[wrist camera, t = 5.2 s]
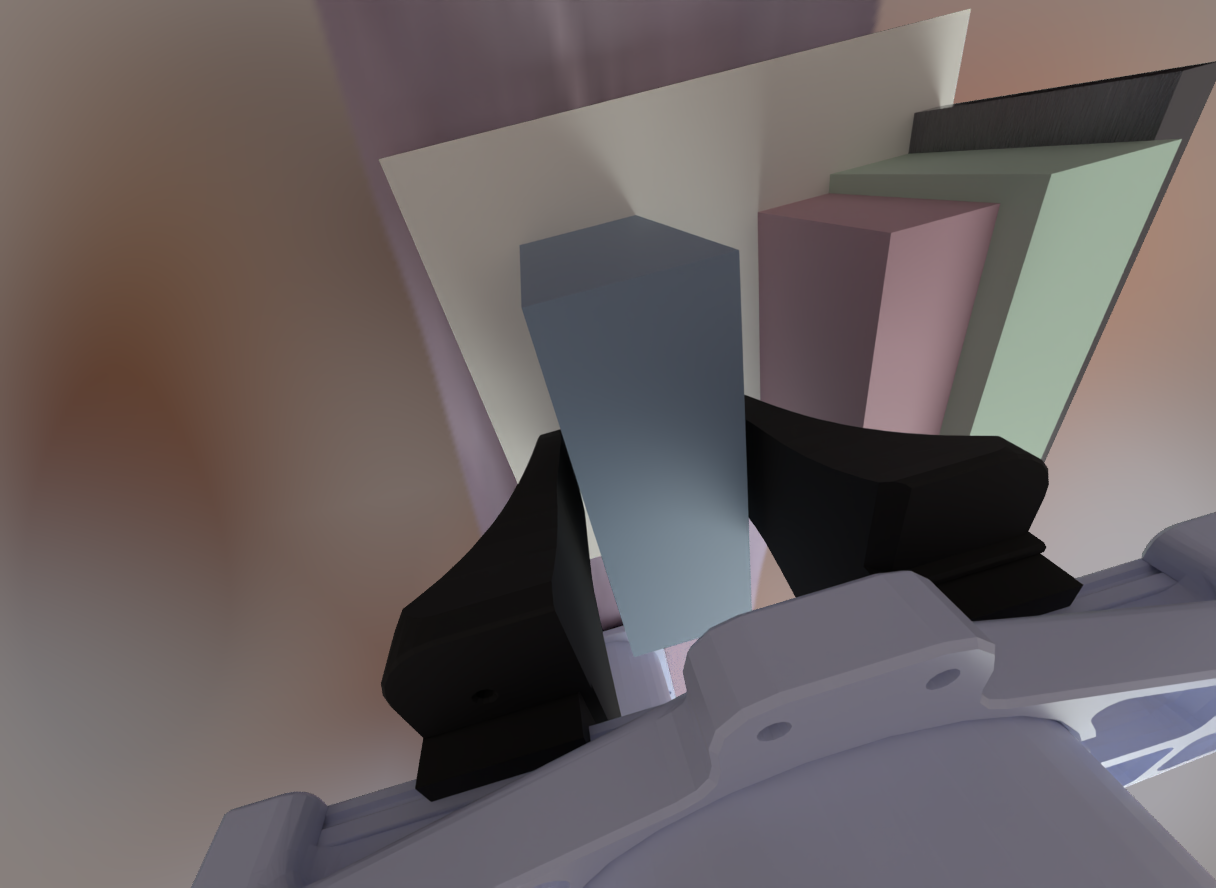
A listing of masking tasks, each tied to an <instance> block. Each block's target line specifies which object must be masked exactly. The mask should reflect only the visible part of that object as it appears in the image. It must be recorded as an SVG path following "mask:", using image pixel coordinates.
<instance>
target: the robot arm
mask: <svg viewBox="0 0 1216 888" xmlns="http://www.w3.org/2000/svg"><path fill="white" fill-rule="evenodd" d="M744 402H745V431H746V460H747V489H748V517H749V519H750V520H751V521H752V523H753V524H754V525H755V527H756V528H757V530H758V531H759V533H760V534H761V536H762V538H763V539H764V541H765V542H766V544H767V546H768V548H769V549H770V551H771V553H772V555H773V556H774V558H775V560H776V562H777V564H778V565H779V567H780V569H781V571H782V573H783V575H784V577H785V578H786V580H787V582H788V584H789V586H790V588H791V589H792V591H793V593H794V595H795V597H796V598H793V599H790V600H786V601H783V602H780V603H776V604H773V605H770V606H766V607H763V608H760V609H756V610H753V611H750V612H746V613H743V614H740V615H737V616H735V617H733V618H730V619H728V620H726V621H724V622H722V623H720V624H718V625H716V626H713V627H711V628H709V629H708V630H707V631H706V632H705V633H704V634H703V635H702V636H701V637H700V638H699V639H698V640H697V641H696V642H695V643H694V644H693V645H692V646H691V647H690V649H689V651H688V652H687V657H686V661H685V665H684V669H683V675H684V680H685V684H686V689H687V692H686V693H684V694H682V695H680V696H678V697H676V696H675V692H674V688H673V684H672V680H671V676H670V672H669V668H668V664H667V660H666V656H665V652H664V648H663V649H660V650H657V651H653V652H650V653H647V654H643V655H640V656H637V657H634V656H633V653H632V650H631V647H630V644H629V641H628V638H627V634H626V631H625V628H624V626H620V627H617V628H614V629H610V630H607V631H603V632H602V627H601V622H600V618H599V613H598V608H597V603H596V598H595V594H594V588H593V582H592V575H591V565H590V555H589V546H588V536H587V526H586V517H585V510H584V506H583V501H582V497H581V493H580V488H579V485H578V482H577V479H576V476H575V473H574V470H573V467H572V463H571V460H570V457H569V454H568V451H567V448H566V445H565V442H564V439H563V435H562V432H561V429H560V430H556V431H552V432H549V433H545V434H542V435H540V436H539V438H538V439H537V442H536V445H535V447H534V450H533V453H532V455H531V457H530V460H529V462H528V464H527V466H526V469H525V471H524V473H523V475H522V477H521V479H520V481H519V483H518V485H517V486H516V488H515V490H514V492H513V494H512V495H511V497H510V499H509V501H508V502H507V504H506V505H505V507H504V509H503V510H502V512H501V513H500V514H499V516H498V517H497V519H496V520H495V521H494V523H493V524H492V525H491V526H490V528H489V529H488V530H487V531H486V532H485V533H484V535H483V536H482V537H481V538H480V539H479V540H478V542H477V543H476V544H475V545H474V546H473V548H472V549H471V550H470V551H469V552H468V553H467V554H466V555H465V556H464V557H463V558H462V559H461V560H460V561H459V562H458V563H457V564H456V565H455V566H454V567H452V569H450V570H449V571H448V572H447V573H446V574H445V575H444V576H443V577H442V578H441V579H440V580H438V581H437V582H436V583H435V584H433V585H432V586H431V587H430V588H429V589H427V590H426V591H425V592H424V593H422V594H421V595H420V596H419V597H418V598H416V599H415V600H414V601H413V602H412V603H410V604H409V605H407V606H406V607H405V608H404V609H403V610H402V613H401V615H400V618H399V621H398V624H397V627H396V629H395V633H394V636H393V640H392V644H391V647H390V651H389V655H388V659H387V663H386V667H385V670H384V674H383V678H382V682H381V687H382V693H383V696H384V698H385V699H386V701H387V702H388V703H389V705H390V706H391V707H392V708H393V709H394V710H395V711H396V712H397V713H398V714H399V715H400V716H401V717H402V718H403V719H404V720H405V721H406V722H407V723H409V725H411V726H412V727H413V728H414V729H415V730H416V731H417V732H418V733H419V734H420V735H421V736H422V737H423V744H422V750H421V756H420V762H419V768H418V774H417V779H415V780H412V781H409V782H405V783H402V784H398V785H395V786H392V787H389V788H385V789H382V790H379V791H375V792H372V793H369V794H366V795H362V796H359V797H356V798H352V799H349V800H346V801H343V802H339V803H336V804H333V805H329V806H327V805H326V804H325V802H323V801H322V800H321V799H320V798H319V797H317V796H316V795H314V794H311V793H308V792H290V793H285V794H281V795H278V796H275V797H271V798H268V799H265V800H261V801H258V802H255V803H251V804H248V805H245V806H241V807H238V808H235V809H232V810H230V811H229V812H227V813H226V814H224V816H223V819H222V821H221V823H220V825H219V827H218V830H217V832H216V834H215V836H214V839H213V841H212V843H211V845H210V847H209V849H208V851H207V854H206V856H205V858H204V860H203V862H202V864H201V867H200V869H199V871H198V873H197V875H196V878H195V880H194V882H193V884H192V886H191V888H1216V880H1215V879H1214V878H1213V877H1212V876H1211V875H1210V874H1209V873H1208V872H1207V871H1206V870H1205V869H1204V868H1203V867H1202V866H1201V865H1200V864H1199V863H1198V861H1197V860H1196V859H1195V858H1194V857H1193V856H1191V854H1189V852H1187V850H1186V849H1185V848H1184V847H1183V846H1182V845H1181V844H1180V843H1179V842H1178V841H1177V840H1176V839H1175V838H1174V837H1173V836H1172V835H1171V834H1170V833H1169V832H1168V831H1167V830H1166V829H1165V828H1164V827H1163V826H1162V825H1161V824H1160V823H1159V822H1158V821H1157V820H1156V819H1155V818H1154V817H1153V816H1152V815H1151V814H1150V813H1149V812H1148V811H1147V810H1146V809H1145V808H1144V807H1143V806H1142V805H1141V804H1140V803H1139V802H1138V801H1137V800H1136V799H1135V798H1134V797H1133V796H1132V795H1131V794H1130V793H1129V792H1128V791H1127V790H1126V789H1125V787H1128V786H1130V785H1133V784H1135V783H1138V782H1140V781H1143V780H1145V779H1148V778H1150V777H1153V776H1156V775H1158V774H1161V773H1163V772H1166V771H1168V770H1171V769H1173V768H1176V767H1178V766H1181V765H1183V764H1186V763H1188V762H1191V761H1193V760H1196V759H1199V758H1201V757H1204V756H1206V755H1209V754H1212V753H1214V752H1216V512H1214V513H1210V514H1207V515H1204V516H1201V517H1197V518H1194V519H1191V520H1187V521H1184V522H1181V523H1177V524H1175V525H1172V526H1170V527H1167V528H1165V529H1164V530H1162V531H1161V532H1160V533H1158V534H1157V535H1156V536H1155V537H1154V538H1153V539H1152V540H1151V541H1150V542H1149V543H1148V545H1147V546H1146V548H1145V550H1144V551H1143V553H1142V558H1141V559H1138V560H1134V561H1131V562H1128V563H1124V564H1121V565H1118V566H1115V567H1111V568H1108V569H1105V570H1101V571H1098V572H1095V573H1092V574H1088V575H1085V576H1082V577H1078V578H1073V577H1072V576H1071V575H1069V574H1068V573H1067V572H1065V571H1063V570H1062V569H1061V568H1060V567H1058V566H1057V565H1055V564H1054V563H1053V562H1051V561H1050V560H1048V559H1047V558H1046V557H1044V556H1043V555H1041V554H1040V553H1042V552H1044V551H1045V549H1046V546H1045V544H1044V542H1042V541H1041V540H1040V539H1038V538H1037V537H1035V536H1034V535H1032V534H1031V533H1030V532H1028V531H1029V529H1030V526H1031V524H1032V522H1033V520H1034V518H1035V516H1036V514H1037V512H1038V510H1039V508H1040V505H1041V503H1042V501H1043V499H1044V497H1045V494H1046V491H1047V488H1048V485H1049V481H1048V468H1047V467H1046V465H1045V463H1044V462H1043V460H1042V459H1040V458H1038V457H1036V456H1034V455H1033V454H1031V453H1029V452H1027V451H1025V450H1024V449H1022V448H1020V447H1018V446H1016V445H1015V444H1013V443H1011V442H1009V441H1007V440H1006V439H1004V438H1002V437H1000V436H965V435H929V434H914V433H902V432H892V431H883V430H876V429H869V428H862V427H855V426H850V425H844V424H839V423H835V422H830V421H826V420H821V419H817V418H813V417H809V416H806V415H802V414H799V413H796V412H792V411H789V410H786V409H783V408H780V407H777V406H774V405H771V404H769V403H766V402H763V401H760V400H758V399H755V398H752V397H750V396H747V395H745V394H744Z"/></svg>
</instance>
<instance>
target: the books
mask: <svg viewBox="0 0 1216 888" xmlns="http://www.w3.org/2000/svg"><path fill="white" fill-rule="evenodd" d="M1181 140H1182V139H1171V140H1152V141H1134V142H1116V143H1097V144H1079V145H1060V146H1042V147H1023V148H1005V149H986V150H968V151H949V152H931V153H912V154H905V155H902V156H898V157H894V158H890V159H886V160H883V161H879V162H875V163H871V164H868V165H864V166H860V167H856V168H853V169H849V170H845V171H841V172H837V173H834V174H830V184H829V193H828V194H824V195H820V196H817V197H813V198H809V199H805V200H802V201H798V202H794V203H790V204H787V205H783V206H779V207H775V208H772V209H768V210H764V211H760V212H758V273H759V340H760V401H763V402H766V403H769V404H771V405H774V406H777V407H780V408H783V409H786V410H789V411H792V412H796V413H799V414H802V415H806V416H809V417H813V418H817V419H821V420H826V421H830V422H835V423H839V424H844V425H850V426H855V427H862V428H869V429H876V430H883V431H892V432H902V433H914V434H929V435H965V436H1000V437H1002V438H1004V439H1006V440H1007V441H1009V442H1011V443H1013V444H1015V445H1016V446H1018V447H1020V448H1022V449H1024V450H1025V451H1027V452H1029V453H1031V454H1033V455H1034V456H1036V457H1038V458H1040V459H1041V458H1042V455H1043V453H1044V451H1045V448H1046V446H1047V444H1048V442H1049V439H1050V437H1051V435H1052V433H1053V430H1054V428H1055V426H1056V424H1057V421H1058V419H1059V417H1060V414H1061V412H1062V410H1063V408H1064V405H1065V403H1066V401H1067V399H1068V396H1069V394H1070V392H1071V390H1072V387H1073V385H1074V383H1075V381H1076V378H1077V376H1078V374H1079V371H1080V369H1081V367H1082V365H1083V362H1084V360H1085V358H1086V356H1087V353H1088V351H1089V349H1090V347H1091V344H1092V342H1093V340H1094V337H1095V335H1096V333H1097V331H1098V328H1099V326H1100V324H1101V322H1102V319H1103V317H1104V315H1105V313H1106V310H1107V308H1108V306H1109V303H1110V301H1111V299H1112V297H1113V294H1114V292H1115V290H1116V288H1117V285H1118V283H1119V281H1120V279H1121V276H1122V274H1123V272H1124V269H1125V267H1126V265H1127V263H1128V260H1129V258H1130V256H1131V254H1132V251H1133V249H1134V247H1135V245H1136V242H1137V240H1138V238H1139V235H1140V233H1141V231H1142V229H1143V226H1144V224H1145V222H1146V220H1147V217H1148V215H1149V213H1150V211H1151V208H1152V206H1153V204H1154V201H1155V199H1156V197H1157V195H1158V192H1159V190H1160V188H1161V186H1162V183H1163V181H1164V179H1165V177H1166V174H1167V172H1168V170H1169V167H1170V165H1171V163H1172V161H1173V158H1174V156H1175V154H1176V152H1177V149H1178V147H1179V145H1180V143H1181Z"/></svg>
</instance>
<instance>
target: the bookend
mask: <svg viewBox="0 0 1216 888" xmlns="http://www.w3.org/2000/svg"><path fill="white" fill-rule="evenodd" d="M1215 81H1216V61H1215V62H1209V63H1202V64H1197V65H1190V66H1185V67H1178V68H1172V69H1166V70H1159V71H1154V72H1147V73H1141V74H1135V75H1129V76H1123V77H1116V78H1111V79H1104V80H1098V81H1092V82H1086V83H1079V84H1073V85H1067V86H1061V87H1055V88H1049V89H1043V90H1037V91H1031V92H1024V93H1018V94H1012V95H1006V96H1000V97H994V98H987V99H981V100H975V101H969V102H963V103H956V104H950V105H944V106H939V107H935V108H931V109H927V110H924V111H920V112H916V113H914V119H913V126H912V132H911V139H910V146H909V152H908V154H912V153H931V152H949V151H968V150H986V149H1005V148H1023V147H1042V146H1060V145H1079V144H1097V143H1116V142H1134V141H1152V140H1171V139H1182V140H1181V143H1180V145H1179V147H1178V149H1177V152H1176V154H1175V156H1174V158H1173V161H1172V163H1171V165H1170V167H1169V170H1168V172H1167V174H1166V177H1165V179H1164V181H1163V183H1162V186H1161V188H1160V190H1159V192H1158V195H1157V197H1156V199H1155V201H1154V204H1153V206H1152V208H1151V211H1150V213H1149V215H1148V217H1147V220H1146V222H1145V224H1144V226H1143V229H1142V231H1141V233H1140V235H1139V238H1138V240H1137V242H1136V245H1135V247H1134V249H1133V251H1132V254H1131V256H1130V258H1129V260H1128V263H1127V265H1126V267H1125V269H1124V272H1123V274H1122V276H1121V279H1120V281H1119V283H1118V285H1117V288H1116V290H1115V292H1114V294H1113V297H1112V299H1111V301H1110V303H1109V306H1108V308H1107V310H1106V313H1105V315H1104V317H1103V319H1102V322H1101V324H1100V326H1099V328H1098V331H1097V333H1096V335H1095V337H1094V340H1093V342H1092V344H1091V347H1090V349H1089V351H1088V353H1087V356H1086V358H1085V360H1084V362H1083V365H1082V367H1081V369H1080V371H1079V374H1078V376H1077V378H1076V381H1075V383H1074V385H1073V387H1072V390H1071V392H1070V394H1069V396H1068V399H1067V401H1066V403H1065V405H1064V408H1063V410H1062V412H1061V414H1060V417H1059V419H1058V421H1057V424H1056V426H1055V428H1054V430H1053V433H1052V435H1051V437H1050V439H1049V442H1048V444H1047V446H1046V448H1045V451H1044V453H1043V455H1042V458H1041V459H1042V460H1043V462H1045V460H1046V457H1047V455H1048V453H1049V451H1050V448H1051V446H1052V444H1053V442H1054V440H1055V437H1056V435H1057V433H1058V431H1059V428H1060V426H1061V424H1062V422H1063V420H1064V417H1065V415H1066V413H1067V410H1068V409H1069V406H1070V404H1071V402H1072V400H1073V397H1074V395H1075V393H1076V391H1077V388H1078V386H1079V384H1080V382H1081V380H1082V377H1083V375H1084V373H1085V371H1086V368H1087V366H1088V364H1089V362H1090V360H1091V357H1092V355H1093V353H1094V351H1095V348H1096V346H1097V344H1098V342H1099V339H1100V337H1101V335H1102V333H1103V331H1104V328H1105V326H1106V324H1107V322H1108V319H1109V317H1110V315H1111V312H1112V311H1113V308H1114V306H1115V304H1116V302H1117V299H1118V297H1119V295H1120V293H1121V290H1122V288H1123V286H1124V284H1125V282H1126V279H1127V277H1128V275H1129V273H1130V270H1131V268H1132V266H1133V264H1134V262H1135V259H1136V257H1137V255H1138V253H1139V251H1140V248H1141V246H1142V244H1143V242H1144V239H1145V237H1146V235H1147V233H1148V230H1149V228H1150V226H1151V224H1152V221H1153V219H1154V217H1155V215H1156V212H1157V210H1158V208H1159V206H1160V204H1161V202H1162V199H1163V197H1164V195H1165V193H1166V190H1167V188H1168V186H1169V184H1170V182H1171V179H1172V177H1173V175H1174V173H1175V170H1176V168H1177V166H1178V164H1179V161H1180V159H1181V157H1182V155H1183V152H1184V150H1185V148H1186V146H1187V144H1188V141H1189V139H1190V137H1191V135H1192V133H1193V130H1194V128H1195V126H1196V123H1197V121H1198V119H1199V117H1200V115H1201V112H1202V110H1203V108H1204V106H1205V103H1206V101H1207V99H1208V97H1209V95H1210V93H1211V90H1212V88H1213V86H1214V84H1215Z"/></svg>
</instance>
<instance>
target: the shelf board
mask: <svg viewBox="0 0 1216 888" xmlns="http://www.w3.org/2000/svg"><path fill="white" fill-rule="evenodd" d="M970 11H971V9H967V10H964V11H959V12H955V13H951V14H948V15H943V16H940V17H936V18H932V19H928V20H924V21H920V22H916V23H912V24H908V25H904V26H901V27H896V28H892V29H888V30H884V31H881V32H877V33H873V34H869V35H865V36H861V37H857V38H853V39H849V40H845V41H841V42H837V43H833V44H829V45H825V46H822V47H818V48H814V49H810V50H806V51H802V52H798V53H794V54H790V55H786V56H782V57H778V58H774V59H770V60H767V61H763V62H759V63H755V64H751V65H747V66H743V67H739V68H735V69H731V70H727V71H723V72H719V73H715V74H711V75H708V76H704V77H700V78H696V79H692V80H688V81H684V82H680V83H676V84H672V85H668V86H664V87H660V88H656V89H652V90H649V91H645V92H641V93H637V94H633V95H629V96H625V97H621V98H617V99H613V100H609V101H605V102H601V103H597V104H594V105H590V106H586V107H582V108H578V109H574V110H570V111H566V112H562V113H558V114H554V115H550V116H546V117H542V118H538V119H535V120H531V121H527V122H523V123H519V124H515V125H511V126H507V127H503V128H499V129H495V130H491V131H487V132H483V133H479V134H476V135H472V136H468V137H464V138H460V139H456V140H452V141H448V142H444V143H440V144H436V145H432V146H428V147H424V148H421V149H417V150H413V151H409V152H405V153H401V154H397V155H393V156H389V157H385V158H381V159H379V162H380V164H381V166H382V169H383V171H384V173H385V176H386V178H387V180H388V183H389V185H390V187H391V190H392V192H393V194H394V197H395V199H396V201H397V204H398V206H399V208H400V211H401V213H402V215H403V218H404V220H405V222H406V225H407V227H408V229H409V232H410V234H411V236H412V239H413V241H414V243H415V246H416V248H417V250H418V253H419V255H420V257H421V260H422V262H423V264H424V267H425V269H426V271H427V274H428V276H429V278H430V281H431V283H432V285H433V288H434V290H435V292H436V295H437V297H438V299H439V302H440V304H441V306H442V309H443V311H444V313H445V316H446V318H447V320H448V322H449V325H450V327H451V329H452V332H453V334H454V336H455V339H456V341H457V343H458V346H459V348H460V350H461V353H462V355H463V357H464V360H465V362H466V364H467V367H468V369H469V371H470V374H471V376H472V378H473V381H474V383H475V385H476V388H477V390H478V392H479V395H480V397H481V399H482V402H483V404H484V406H485V409H486V411H487V413H488V416H489V418H490V420H491V423H492V425H493V427H494V430H495V432H496V434H497V437H498V439H499V441H500V444H501V446H502V448H503V451H504V453H505V455H506V458H507V460H508V462H509V465H510V467H511V469H512V472H513V474H514V476H515V479H516V481H517V483H519V481H520V479H521V477H522V475H523V473H524V471H525V469H526V466H527V464H528V462H529V460H530V457H531V455H532V453H533V450H534V447H535V445H536V442H537V439H538V438H539V436H540V435H542V434H545V433H549V432H552V431H556V430H560V426H559V423H558V420H557V417H556V414H555V411H554V407H553V404H552V401H551V398H550V395H549V392H548V389H547V386H546V383H545V379H544V376H543V373H542V370H541V367H540V364H539V361H538V358H537V355H536V351H535V348H534V345H533V342H532V339H531V336H530V333H529V330H528V327H527V323H526V320H525V317H524V314H523V311H522V308H521V278H520V246H519V245H522V244H526V243H530V242H534V241H538V240H542V239H545V238H549V237H553V236H557V235H561V234H565V233H568V232H572V231H576V230H580V229H584V228H588V227H592V226H595V225H599V224H603V223H607V222H611V221H615V220H619V219H622V218H626V217H630V216H634V215H637V216H640V217H643V218H646V219H649V220H652V221H655V222H658V223H661V224H664V225H667V226H670V227H673V228H676V229H679V230H681V231H684V232H687V233H690V234H693V235H696V236H699V237H702V238H705V239H708V240H711V241H714V242H717V243H720V244H723V245H726V246H729V247H732V248H735V249H738V250H739V256H740V285H741V314H742V343H743V372H744V394H745V395H747V396H750V397H752V398H755V399H758V400H760V340H759V273H758V212H760V211H764V210H768V209H772V208H775V207H779V206H783V205H787V204H790V203H794V202H798V201H802V200H805V199H809V198H813V197H817V196H820V195H824V194H828V193H829V184H830V174H834V173H837V172H841V171H845V170H849V169H853V168H856V167H860V166H864V165H868V164H871V163H875V162H879V161H883V160H886V159H890V158H894V157H898V156H902V155H905V154H908V152H909V146H910V139H911V132H912V126H913V119H914V113H916V112H920V111H924V110H927V109H931V108H935V107H939V106H944V105H950V104H953V101H954V96H955V90H956V85H957V80H958V75H959V69H960V64H961V58H962V53H963V48H964V43H965V38H966V32H967V27H968V22H969V16H970ZM580 493H581V491H580ZM581 497H582V494H581ZM582 501H583V498H582ZM583 506H584V510H585V517H586V526H587V536H588V546H589V555H590V559H592V558H596V557H599V556H601V554H600V550H599V547H598V544H597V541H596V538H595V535H594V532H593V529H592V526H591V522H590V519H589V516H588V513H587V510H586V507H585V504H584V501H583Z"/></svg>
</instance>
